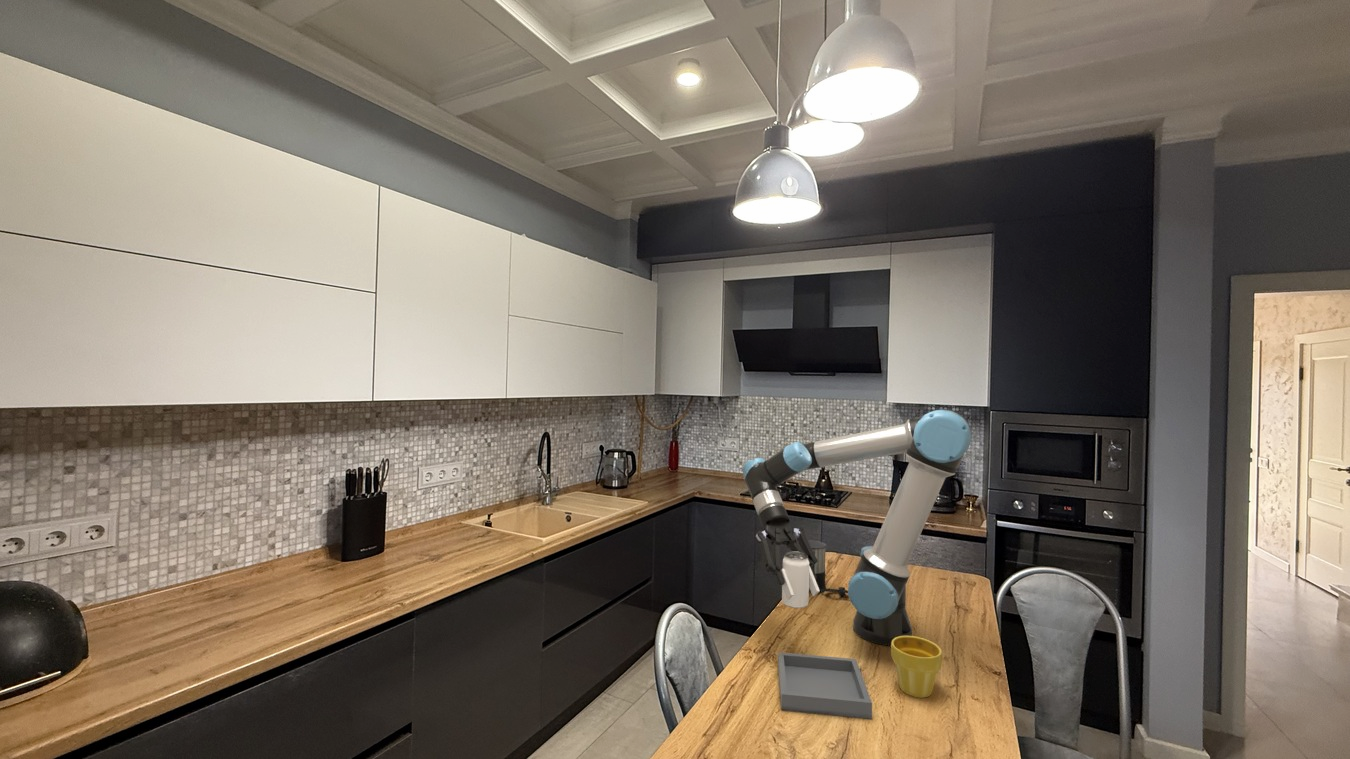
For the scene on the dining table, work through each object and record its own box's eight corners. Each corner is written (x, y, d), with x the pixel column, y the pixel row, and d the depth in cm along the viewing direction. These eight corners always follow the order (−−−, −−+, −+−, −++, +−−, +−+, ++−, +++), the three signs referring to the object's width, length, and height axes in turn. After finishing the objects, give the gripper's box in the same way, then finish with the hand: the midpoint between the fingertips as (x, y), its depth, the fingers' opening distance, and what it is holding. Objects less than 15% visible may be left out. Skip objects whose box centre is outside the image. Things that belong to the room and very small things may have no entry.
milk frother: (796, 582, 187) (797, 538, 188) (844, 585, 185) (844, 541, 185) (799, 598, 173) (800, 551, 173) (851, 601, 171) (851, 554, 171)
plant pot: (938, 708, 114) (939, 662, 114) (886, 693, 120) (887, 648, 120) (943, 686, 123) (944, 642, 123) (895, 672, 129) (895, 631, 129)
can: (808, 610, 131) (809, 560, 131) (781, 607, 133) (782, 558, 132) (808, 599, 137) (809, 552, 137) (782, 596, 139) (783, 549, 139)
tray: (855, 672, 128) (855, 658, 128) (871, 719, 110) (872, 702, 110) (778, 665, 131) (778, 652, 131) (781, 710, 113) (781, 694, 113)
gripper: (797, 516, 152) (830, 597, 137) (734, 521, 146) (762, 606, 131) (808, 501, 147) (844, 584, 132) (743, 506, 141) (773, 593, 126)
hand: (803, 595), depth 131 cm, fingers closed on can, 6 cm apart
